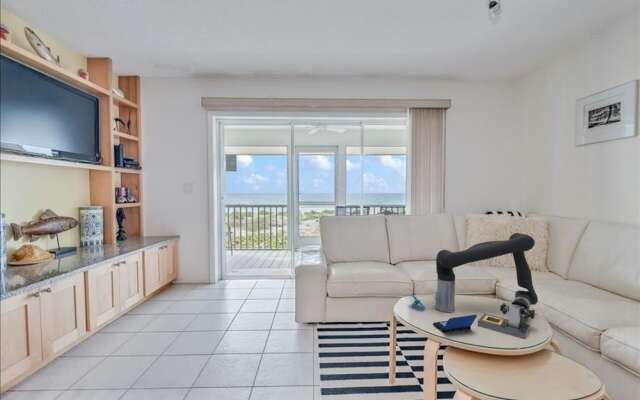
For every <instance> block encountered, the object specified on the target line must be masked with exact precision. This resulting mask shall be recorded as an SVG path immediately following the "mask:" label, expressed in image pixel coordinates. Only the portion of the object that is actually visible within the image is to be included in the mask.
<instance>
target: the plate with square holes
mask: <svg viewBox="0 0 640 400" xmlns="http://www.w3.org/2000/svg"><path fill="white" fill-rule="evenodd" d="M508 323H509V318H508V319H507V318H504V317H500V316H497V315H493V314H492V315H491V314H489V313H488V314H487V313H483V314H482V316H481V317H480V318H479V319H478V320H477V326H478V327H482V328H485V329H488V330H491V331H495V332H499V333H501V334H507V335H509V336H512V337H517V338H520V339H524V340H525V339H526V338H527V337H528V334H529V332H530V328H531V327H530V326H531V325H530V324H528V323H524V322H520V329H516V328H513V327H509V326H508Z"/></svg>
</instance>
